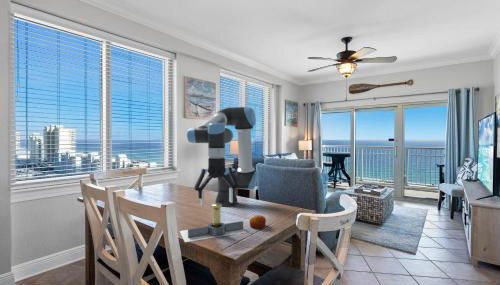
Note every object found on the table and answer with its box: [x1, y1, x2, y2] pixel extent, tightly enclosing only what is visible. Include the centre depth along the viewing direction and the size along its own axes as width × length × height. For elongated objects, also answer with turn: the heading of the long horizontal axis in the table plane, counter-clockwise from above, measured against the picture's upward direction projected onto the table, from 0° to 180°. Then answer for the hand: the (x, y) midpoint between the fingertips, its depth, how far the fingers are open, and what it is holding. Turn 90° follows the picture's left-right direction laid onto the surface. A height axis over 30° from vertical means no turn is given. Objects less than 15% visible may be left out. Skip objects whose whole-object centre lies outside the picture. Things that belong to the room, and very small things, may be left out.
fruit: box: [249, 214, 267, 230], centre depth 125 cm, size 8×8×8 cm
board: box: [179, 229, 247, 243], centre depth 118 cm, size 14×28×1 cm, turn 115°
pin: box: [211, 203, 223, 227], centre depth 116 cm, size 4×4×13 cm
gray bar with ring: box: [187, 221, 244, 238], centre depth 116 cm, size 8×26×4 cm, turn 115°
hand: (216, 203), depth 117 cm, fingers open, 13 cm apart
